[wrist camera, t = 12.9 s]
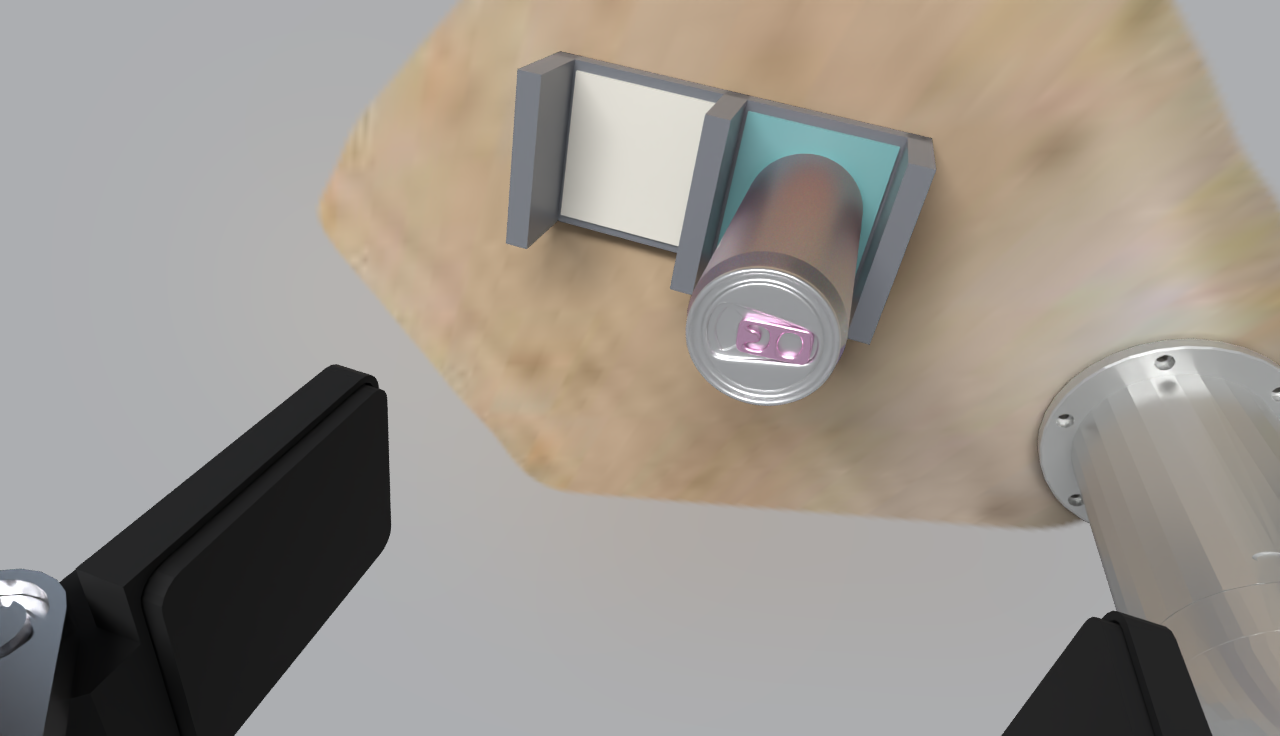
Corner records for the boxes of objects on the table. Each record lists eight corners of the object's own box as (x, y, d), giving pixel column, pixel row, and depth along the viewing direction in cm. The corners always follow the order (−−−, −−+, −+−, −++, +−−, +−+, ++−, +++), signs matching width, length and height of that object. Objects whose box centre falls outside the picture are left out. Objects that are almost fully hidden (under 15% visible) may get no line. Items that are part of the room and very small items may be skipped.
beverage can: (848, 270, 41) (825, 427, 29) (738, 249, 42) (671, 390, 30) (876, 160, 38) (864, 282, 25) (757, 140, 39) (689, 248, 27)
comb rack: (931, 138, 38) (936, 169, 33) (872, 298, 43) (869, 344, 38) (560, 51, 41) (517, 69, 36) (545, 210, 46) (506, 243, 41)
